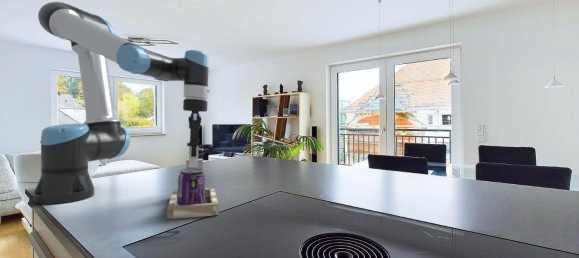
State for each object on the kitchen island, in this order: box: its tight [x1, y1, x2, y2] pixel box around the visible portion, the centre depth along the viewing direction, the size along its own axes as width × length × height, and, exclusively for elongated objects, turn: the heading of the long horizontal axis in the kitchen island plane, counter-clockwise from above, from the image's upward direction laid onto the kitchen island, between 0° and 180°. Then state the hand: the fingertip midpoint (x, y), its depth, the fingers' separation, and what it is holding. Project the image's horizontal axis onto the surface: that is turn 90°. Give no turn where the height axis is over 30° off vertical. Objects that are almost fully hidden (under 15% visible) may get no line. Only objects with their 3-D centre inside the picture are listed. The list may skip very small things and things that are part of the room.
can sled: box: [166, 158, 220, 220], centre depth 83 cm, size 21×13×12 cm, turn 19°
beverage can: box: [177, 168, 206, 205], centre depth 78 cm, size 7×7×12 cm
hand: (193, 163), depth 91 cm, fingers open, 13 cm apart
